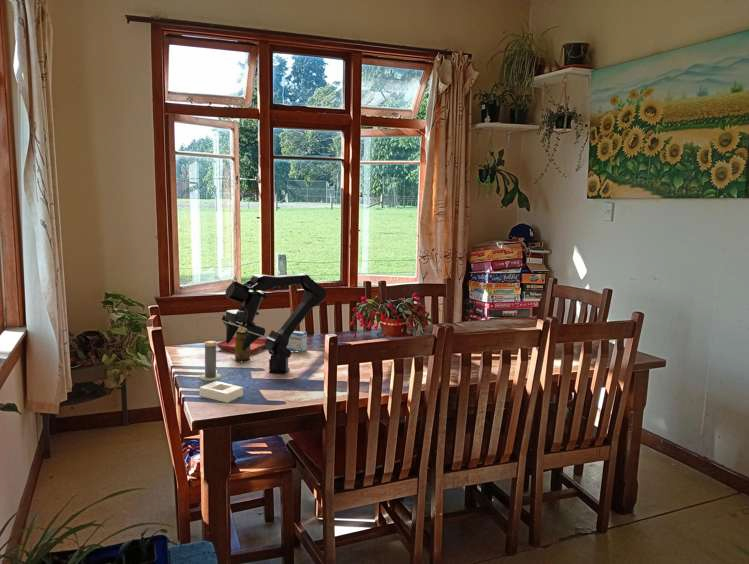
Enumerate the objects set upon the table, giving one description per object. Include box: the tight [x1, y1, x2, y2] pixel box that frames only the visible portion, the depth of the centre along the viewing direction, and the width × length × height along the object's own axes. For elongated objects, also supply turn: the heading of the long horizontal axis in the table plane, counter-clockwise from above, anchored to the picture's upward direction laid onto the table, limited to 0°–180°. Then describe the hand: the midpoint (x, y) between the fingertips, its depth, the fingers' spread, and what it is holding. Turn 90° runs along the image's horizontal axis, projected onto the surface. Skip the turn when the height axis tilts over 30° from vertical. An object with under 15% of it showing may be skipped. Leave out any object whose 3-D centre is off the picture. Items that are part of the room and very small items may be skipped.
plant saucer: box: [216, 335, 266, 355], centre depth 261 cm, size 18×18×3 cm
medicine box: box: [286, 330, 308, 353], centre depth 259 cm, size 8×4×9 cm, turn 73°
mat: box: [199, 372, 222, 382], centre depth 220 cm, size 8×8×1 cm
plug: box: [203, 340, 218, 378], centre depth 219 cm, size 4×4×13 cm
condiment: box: [230, 329, 257, 364], centre depth 243 cm, size 7×8×12 cm
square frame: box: [199, 380, 244, 403], centre depth 201 cm, size 8×12×3 cm, turn 63°
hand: (235, 346), depth 217 cm, fingers open, 9 cm apart
